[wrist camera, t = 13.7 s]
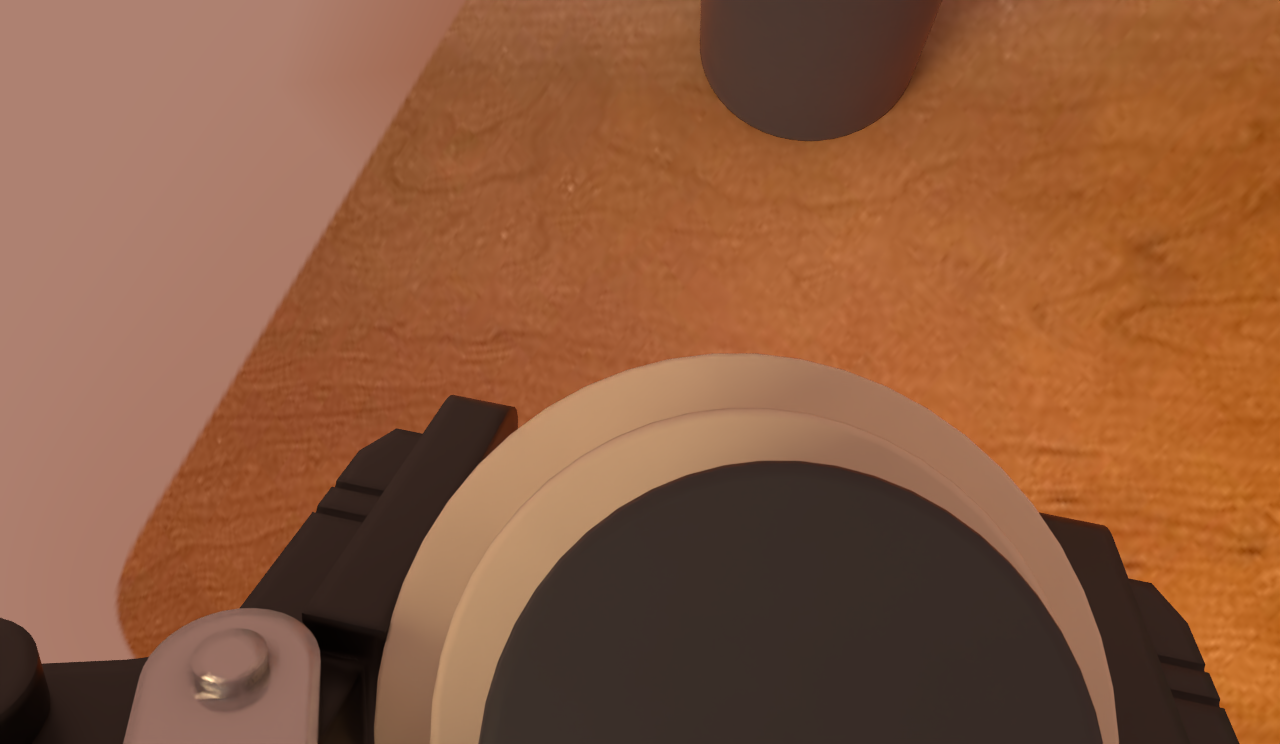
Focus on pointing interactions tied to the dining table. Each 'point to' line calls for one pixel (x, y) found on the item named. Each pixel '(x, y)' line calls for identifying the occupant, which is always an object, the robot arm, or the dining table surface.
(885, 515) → the cream bottle
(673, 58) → the dining table surface
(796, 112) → the slate jar
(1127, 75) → the dining table surface
